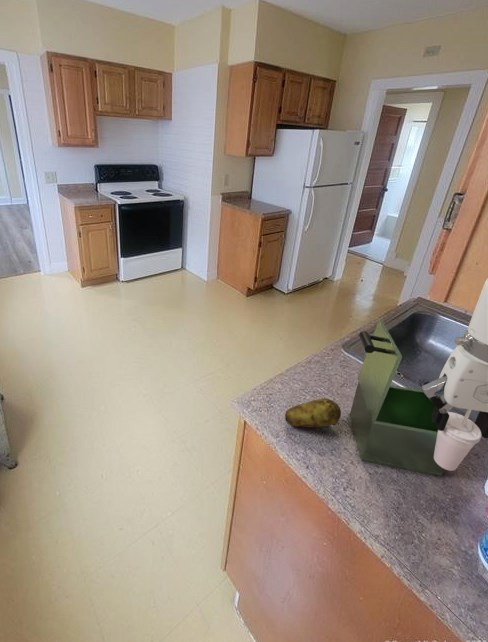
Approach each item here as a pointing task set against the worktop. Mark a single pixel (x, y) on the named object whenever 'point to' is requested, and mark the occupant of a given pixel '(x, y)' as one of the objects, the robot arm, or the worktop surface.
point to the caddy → (397, 431)
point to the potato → (314, 413)
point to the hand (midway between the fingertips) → (459, 427)
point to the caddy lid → (377, 367)
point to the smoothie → (455, 440)
